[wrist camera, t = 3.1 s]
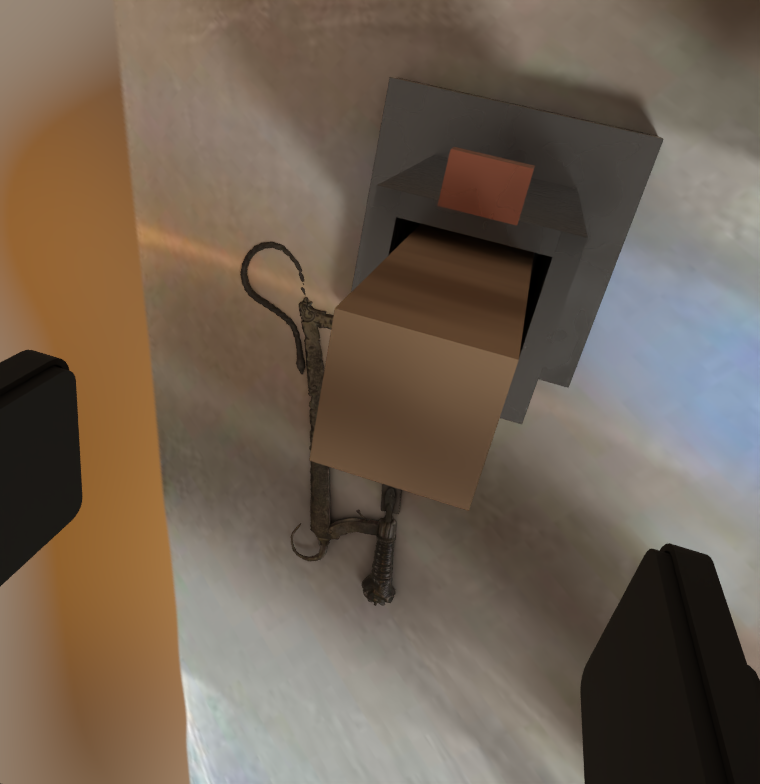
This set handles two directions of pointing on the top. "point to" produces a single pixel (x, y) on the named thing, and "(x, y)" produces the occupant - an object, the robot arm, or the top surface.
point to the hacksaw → (380, 579)
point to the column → (424, 364)
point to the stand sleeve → (511, 205)
